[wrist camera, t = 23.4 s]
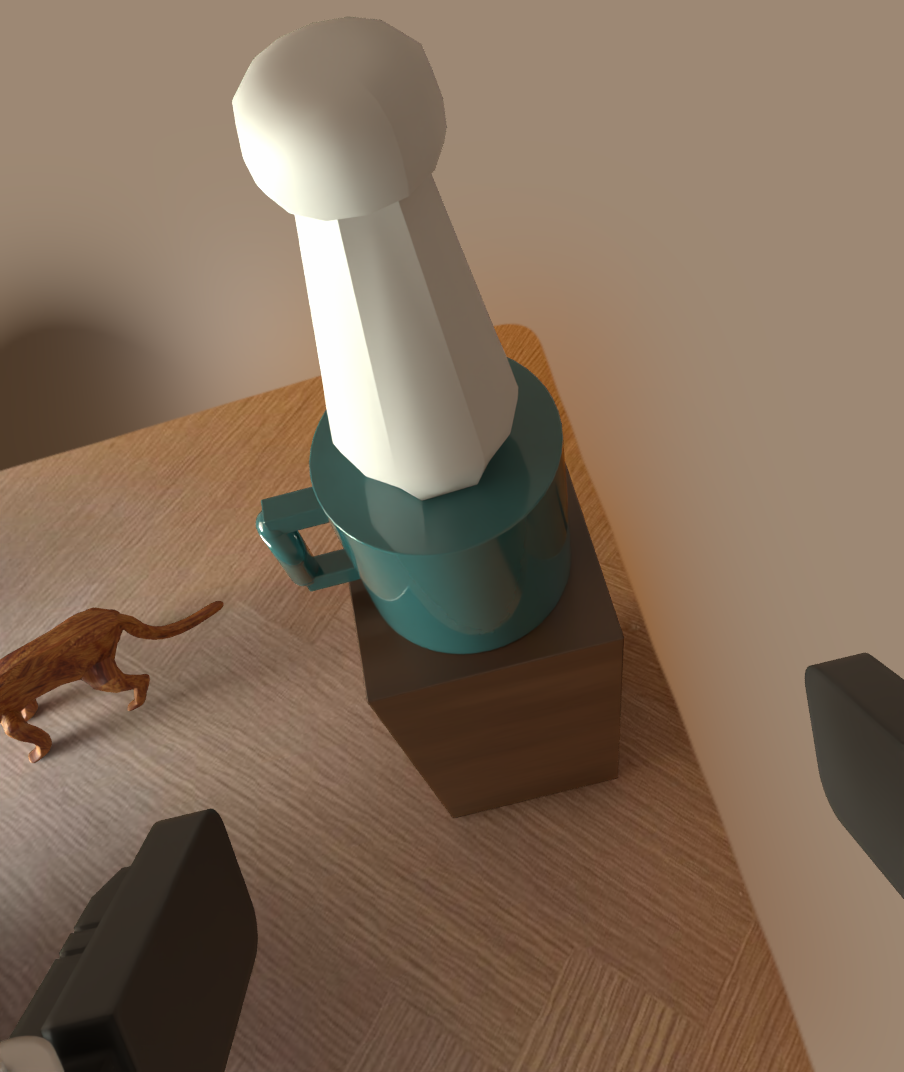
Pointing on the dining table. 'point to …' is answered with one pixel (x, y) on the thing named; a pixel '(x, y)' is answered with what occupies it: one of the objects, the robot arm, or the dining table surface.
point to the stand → (506, 696)
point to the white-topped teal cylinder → (442, 536)
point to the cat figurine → (76, 665)
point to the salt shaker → (379, 252)
